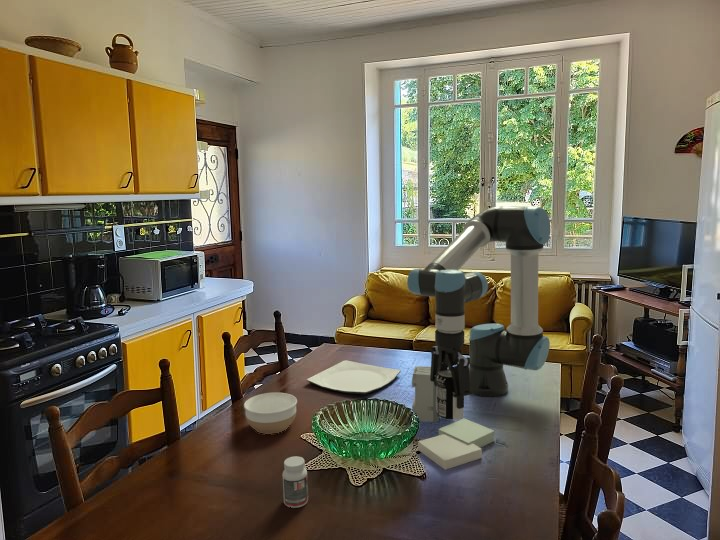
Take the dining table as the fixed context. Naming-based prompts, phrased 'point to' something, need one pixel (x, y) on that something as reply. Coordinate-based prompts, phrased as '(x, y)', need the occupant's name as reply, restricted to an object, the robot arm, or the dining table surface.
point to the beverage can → (445, 395)
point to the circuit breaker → (424, 395)
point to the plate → (354, 377)
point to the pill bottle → (295, 482)
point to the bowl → (270, 412)
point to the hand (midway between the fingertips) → (449, 413)
